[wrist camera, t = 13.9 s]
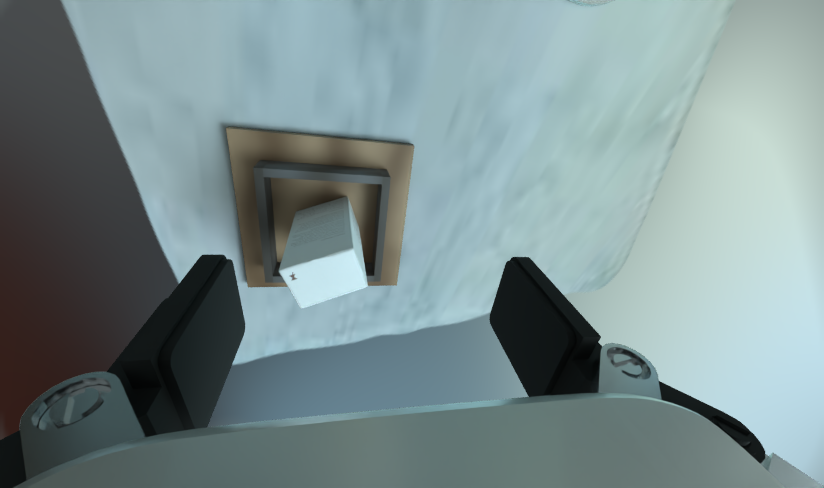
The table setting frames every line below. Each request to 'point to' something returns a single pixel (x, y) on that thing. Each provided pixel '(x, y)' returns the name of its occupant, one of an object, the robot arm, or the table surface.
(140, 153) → the table surface
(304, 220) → the skincare box
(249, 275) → the wooden framed tray
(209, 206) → the table surface
